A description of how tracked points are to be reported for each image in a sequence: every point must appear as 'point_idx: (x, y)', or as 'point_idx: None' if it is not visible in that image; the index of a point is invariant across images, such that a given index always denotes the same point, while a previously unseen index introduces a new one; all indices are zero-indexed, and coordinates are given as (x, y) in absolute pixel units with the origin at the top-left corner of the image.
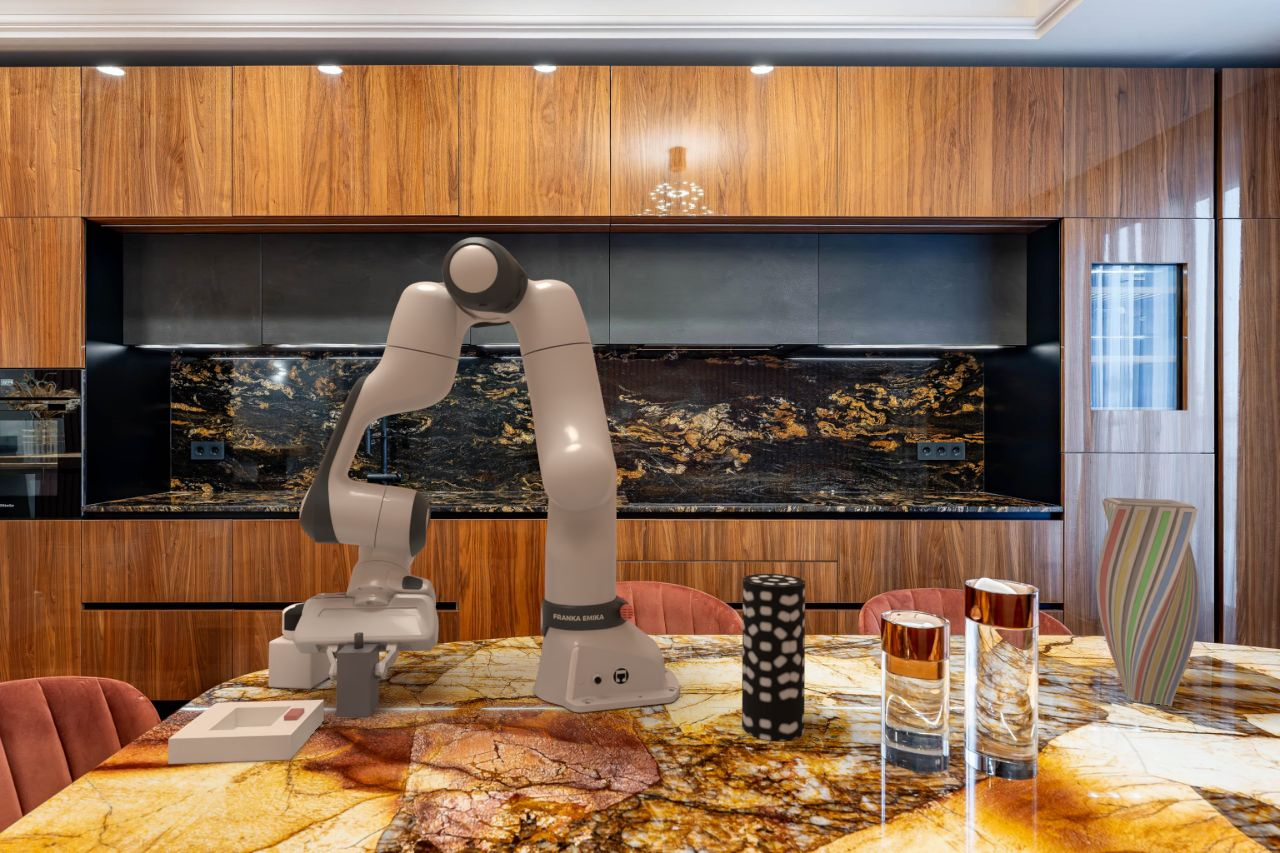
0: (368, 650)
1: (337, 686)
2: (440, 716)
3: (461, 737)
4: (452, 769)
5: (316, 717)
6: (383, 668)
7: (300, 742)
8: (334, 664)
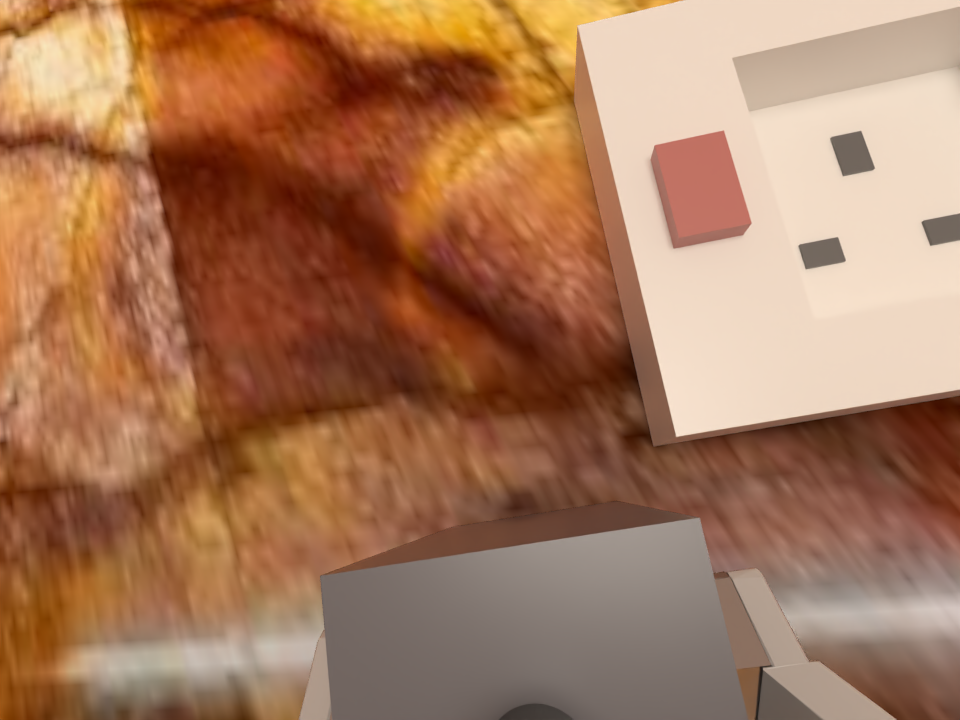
0: (365, 643)
1: (633, 506)
2: (125, 559)
3: (11, 355)
4: (13, 132)
5: (641, 338)
6: (316, 662)
7: (594, 170)
8: (769, 650)
